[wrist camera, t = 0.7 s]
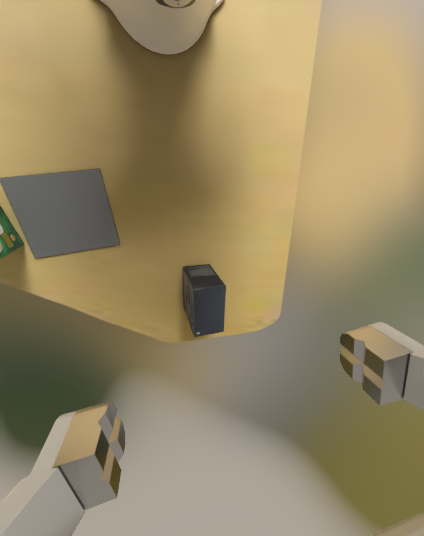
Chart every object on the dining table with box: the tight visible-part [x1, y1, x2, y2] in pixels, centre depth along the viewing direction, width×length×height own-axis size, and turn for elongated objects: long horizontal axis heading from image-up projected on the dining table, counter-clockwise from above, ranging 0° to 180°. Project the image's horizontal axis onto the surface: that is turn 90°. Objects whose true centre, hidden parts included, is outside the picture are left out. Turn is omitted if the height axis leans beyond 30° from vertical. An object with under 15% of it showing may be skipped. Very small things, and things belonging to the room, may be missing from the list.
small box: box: [183, 264, 226, 337], centre depth 47 cm, size 11×6×10 cm, turn 179°
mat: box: [0, 169, 120, 259], centre depth 38 cm, size 13×14×1 cm
